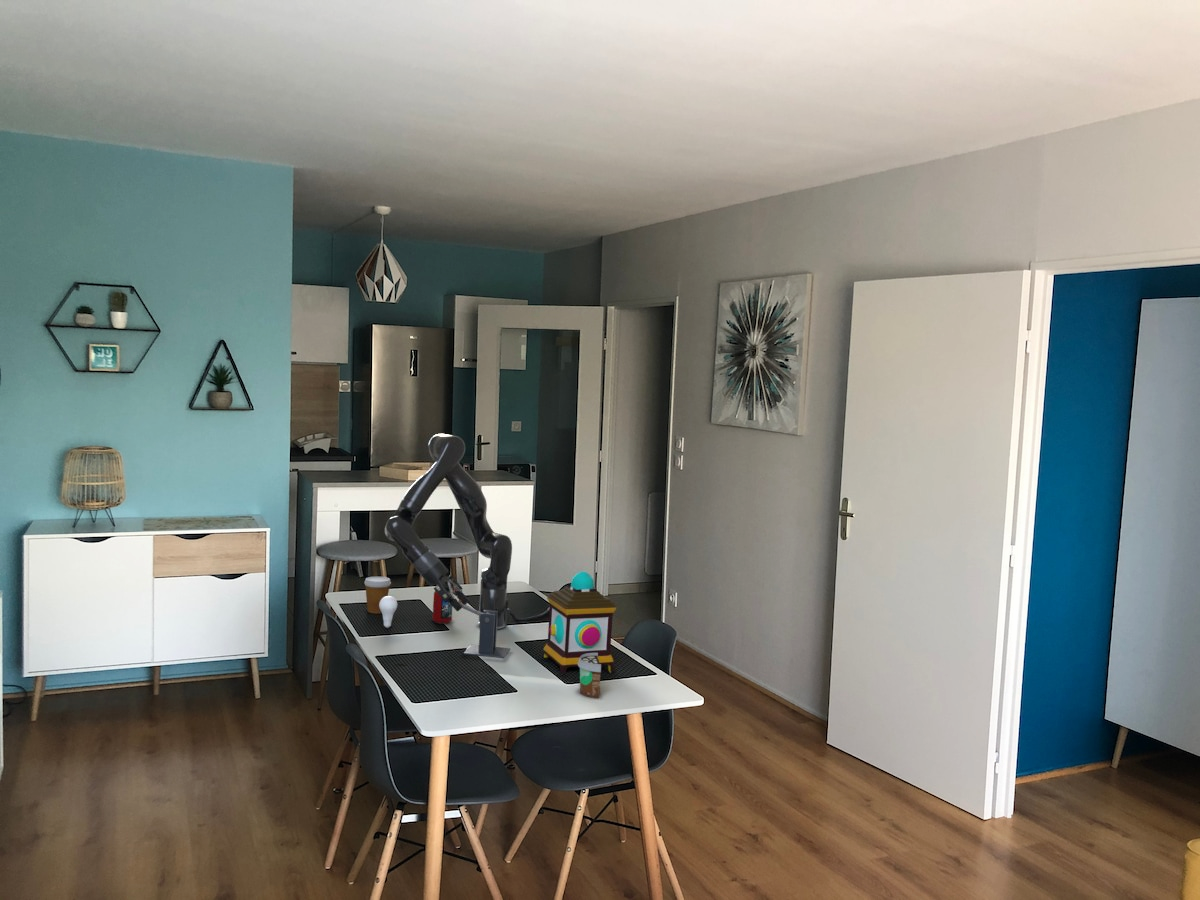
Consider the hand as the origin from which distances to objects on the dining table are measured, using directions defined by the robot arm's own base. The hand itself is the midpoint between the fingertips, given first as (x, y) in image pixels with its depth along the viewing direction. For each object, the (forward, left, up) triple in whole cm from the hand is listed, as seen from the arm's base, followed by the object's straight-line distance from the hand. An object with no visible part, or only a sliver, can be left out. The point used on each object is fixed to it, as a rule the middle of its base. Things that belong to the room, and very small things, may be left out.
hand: (463, 606), depth 298 cm
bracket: (-5, +7, -15) cm, 17 cm away
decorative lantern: (-19, +33, -15) cm, 41 cm away
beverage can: (-19, -32, -15) cm, 40 cm away
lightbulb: (+1, -37, -15) cm, 40 cm away
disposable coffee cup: (-9, -57, -15) cm, 60 cm away
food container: (-3, +51, -15) cm, 53 cm away
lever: (-2, +3, -2) cm, 4 cm away
